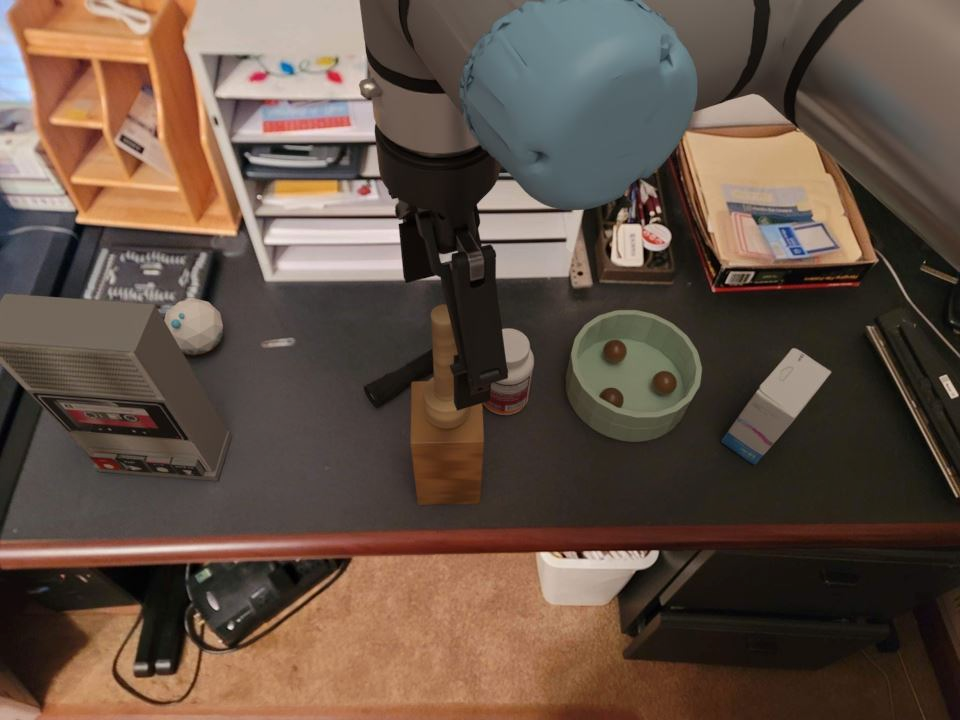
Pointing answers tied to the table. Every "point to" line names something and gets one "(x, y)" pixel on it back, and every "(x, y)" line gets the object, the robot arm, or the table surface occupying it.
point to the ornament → (195, 326)
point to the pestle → (442, 375)
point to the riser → (446, 455)
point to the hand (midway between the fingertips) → (444, 335)
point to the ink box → (775, 405)
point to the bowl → (632, 375)
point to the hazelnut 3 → (664, 383)
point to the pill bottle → (513, 376)
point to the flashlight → (398, 379)
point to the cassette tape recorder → (114, 384)
